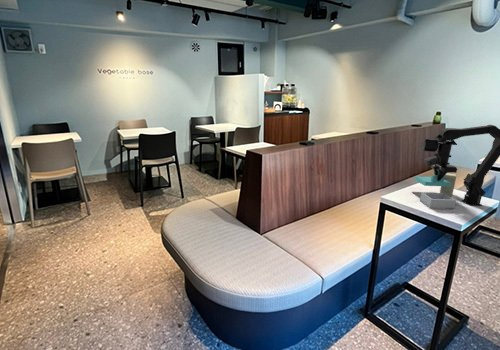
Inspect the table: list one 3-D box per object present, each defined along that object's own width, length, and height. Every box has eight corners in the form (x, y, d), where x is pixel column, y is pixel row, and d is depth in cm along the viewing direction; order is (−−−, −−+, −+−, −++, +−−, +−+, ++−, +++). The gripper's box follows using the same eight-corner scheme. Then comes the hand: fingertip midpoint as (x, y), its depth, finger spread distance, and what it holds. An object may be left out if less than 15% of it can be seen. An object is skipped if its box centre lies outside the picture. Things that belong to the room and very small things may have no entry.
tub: (442, 201, 156) (444, 193, 154) (453, 209, 146) (455, 200, 145) (419, 200, 156) (421, 192, 155) (429, 208, 147) (431, 199, 145)
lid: (437, 180, 166) (439, 171, 165) (450, 186, 155) (452, 176, 154) (414, 180, 167) (415, 170, 165) (424, 185, 156) (426, 175, 154)
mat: (435, 193, 168) (436, 192, 168) (447, 200, 158) (447, 199, 157) (411, 192, 169) (411, 191, 169) (421, 199, 158) (421, 198, 158)
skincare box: (452, 194, 167) (457, 174, 163) (451, 196, 163) (456, 176, 160) (439, 191, 170) (444, 172, 167) (438, 193, 167) (443, 173, 163)
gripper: (419, 148, 160) (413, 174, 165) (438, 156, 143) (431, 185, 147) (439, 148, 160) (433, 175, 165) (461, 156, 142) (453, 186, 147)
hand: (437, 180), depth 156 cm, fingers closed on lid
